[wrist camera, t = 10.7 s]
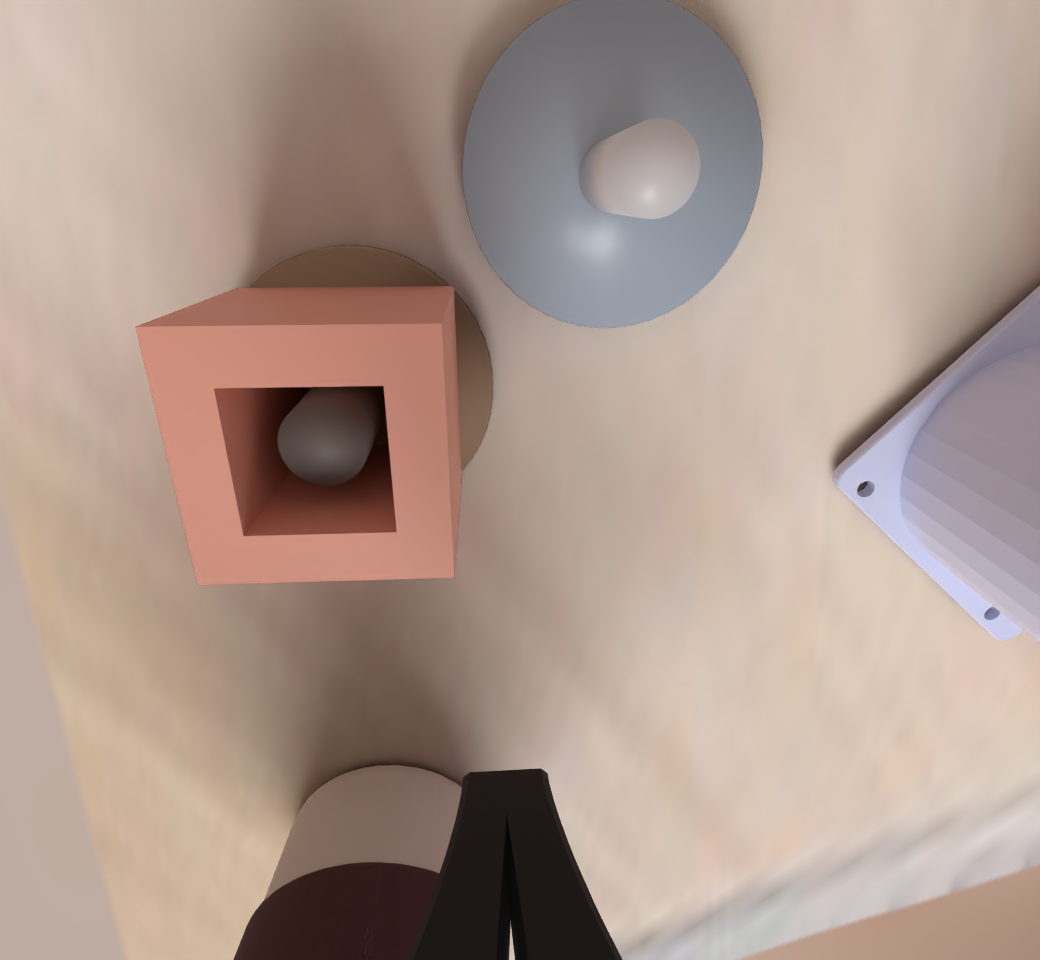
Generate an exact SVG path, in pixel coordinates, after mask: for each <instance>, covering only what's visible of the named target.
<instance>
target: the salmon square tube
mask: <svg viewBox="0 0 1040 960" xmlns="http://www.w3.org/2000/svg"><path fill="white" fill-rule="evenodd" d="M136 331H137V335H138V339H139V344H140V348H141V352H142V356H143V360H144V364H145V368H146V373H147V377H148V381H149V385H150V389H151V393H152V397H153V401H154V406H155V410H156V414H157V418H158V422H159V426H160V430H161V435H162V439H163V443H164V447H165V451H166V455H167V459H168V464H169V468H170V472H171V476H172V480H173V484H174V488H175V492H176V497H177V501H178V505H179V509H180V513H181V517H182V521H183V526H184V530H185V534H186V538H187V542H188V546H189V550H190V555H191V559H192V563H193V567H194V571H195V575H196V579H197V584H198V585H218V584H253V583H287V582H322V581H357V580H392V579H426V578H454V576H455V563H456V550H457V537H458V524H459V511H460V498H461V485H462V470H461V446H460V422H459V398H458V373H457V349H456V325H455V301H454V286H417V287H289V288H236V289H234V290H231V291H228V292H226V293H223V294H220V295H218V296H215V297H213V298H210V299H207V300H205V301H202V302H199V303H197V304H194V305H191V306H189V307H186V308H184V309H181V310H178V311H176V312H173V313H170V314H168V315H165V316H162V317H160V318H157V319H154V320H152V321H149V322H147V323H144V324H141V325H139V326H136ZM343 386H384V397H385V408H386V419H387V430H388V441H389V444H373V446H372V448H371V451H370V453H369V455H368V457H367V460H366V462H365V464H364V466H363V468H362V469H361V470H360V472H359V473H358V474H357V475H356V476H354V477H353V478H352V479H350V480H348V481H346V482H344V483H341V484H338V485H331V486H324V485H317V484H313V483H310V482H307V481H305V480H303V479H301V478H300V477H298V476H297V475H296V474H294V473H293V472H292V471H291V470H290V469H289V468H288V467H287V465H286V464H285V462H284V461H283V459H282V457H281V455H280V452H279V448H278V432H279V428H280V426H281V423H282V422H283V420H284V419H285V417H286V416H287V415H288V414H289V413H290V412H291V411H292V409H293V408H294V407H295V406H296V405H297V404H298V403H299V402H300V393H299V387H343Z"/></svg>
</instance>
